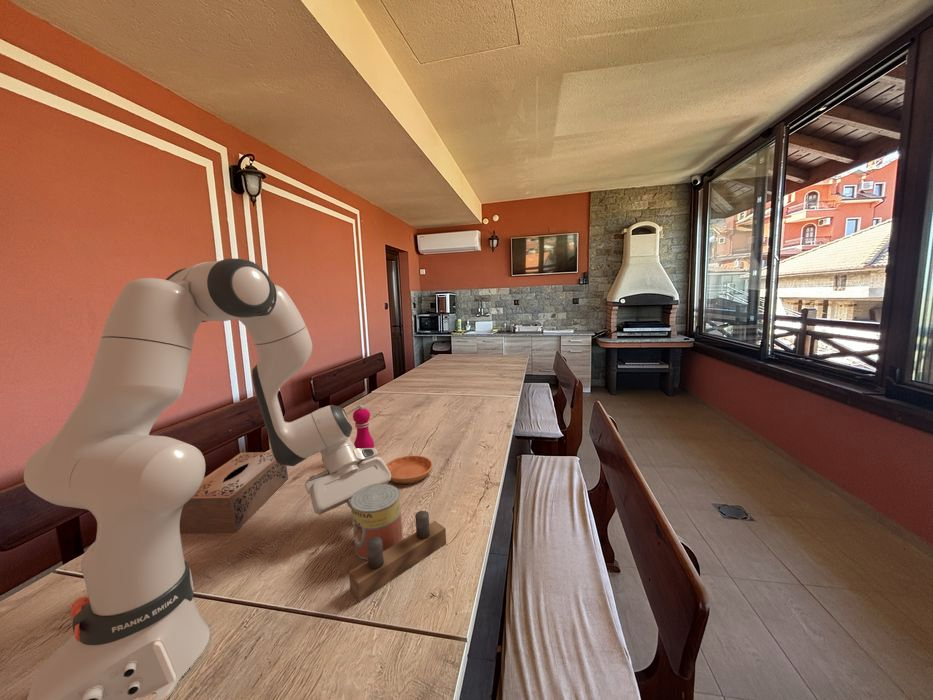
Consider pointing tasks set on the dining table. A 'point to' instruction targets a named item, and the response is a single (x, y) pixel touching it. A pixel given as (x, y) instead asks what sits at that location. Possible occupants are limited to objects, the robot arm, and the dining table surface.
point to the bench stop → (396, 556)
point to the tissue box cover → (233, 494)
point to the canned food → (376, 517)
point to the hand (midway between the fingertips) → (364, 513)
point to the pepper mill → (362, 428)
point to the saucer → (409, 469)
